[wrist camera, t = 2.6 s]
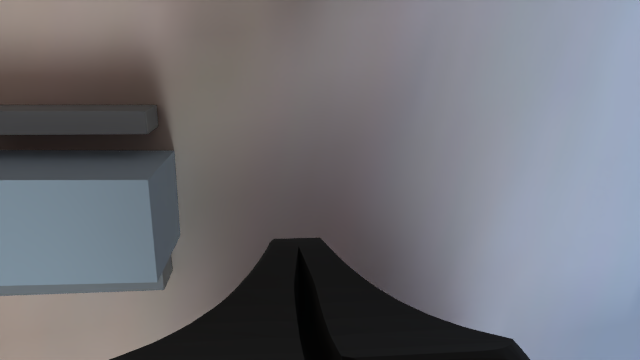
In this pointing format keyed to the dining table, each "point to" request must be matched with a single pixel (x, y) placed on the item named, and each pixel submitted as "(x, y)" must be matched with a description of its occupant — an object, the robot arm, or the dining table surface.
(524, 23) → the dining table surface
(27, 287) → the track
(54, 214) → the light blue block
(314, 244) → the robot arm
